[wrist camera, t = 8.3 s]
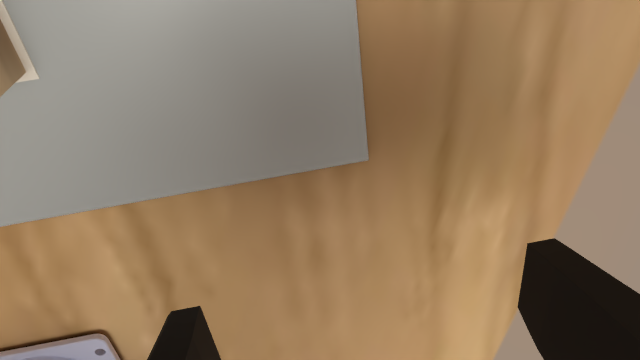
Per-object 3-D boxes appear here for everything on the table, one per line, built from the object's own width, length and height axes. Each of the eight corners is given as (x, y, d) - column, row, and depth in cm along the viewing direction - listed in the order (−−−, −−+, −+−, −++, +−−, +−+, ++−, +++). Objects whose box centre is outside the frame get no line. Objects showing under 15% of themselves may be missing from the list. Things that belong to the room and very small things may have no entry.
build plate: (365, 153, 21) (369, 160, 20) (-108, 238, 20) (-118, 248, 19) (328, -291, 13) (332, -297, 12) (-453, -182, 12) (-486, -184, 12)
